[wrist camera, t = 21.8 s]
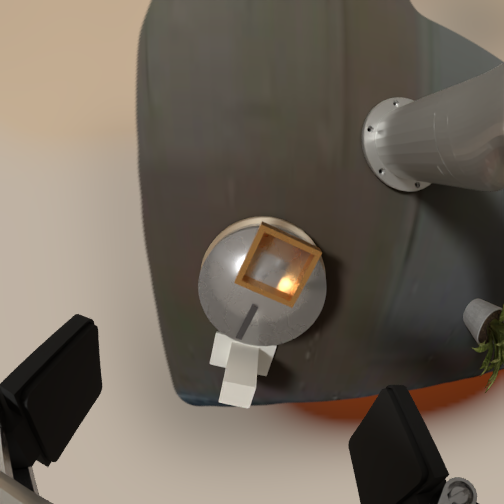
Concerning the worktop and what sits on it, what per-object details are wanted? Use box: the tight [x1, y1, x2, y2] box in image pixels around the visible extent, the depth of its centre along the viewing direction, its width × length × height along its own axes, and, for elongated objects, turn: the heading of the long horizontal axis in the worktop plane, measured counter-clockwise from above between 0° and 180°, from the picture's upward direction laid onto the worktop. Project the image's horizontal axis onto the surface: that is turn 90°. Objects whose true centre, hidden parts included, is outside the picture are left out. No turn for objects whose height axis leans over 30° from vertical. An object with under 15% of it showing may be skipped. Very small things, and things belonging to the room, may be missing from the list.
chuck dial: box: [198, 221, 327, 346], centre depth 35 cm, size 15×15×5 cm
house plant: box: [463, 298, 504, 393], centre depth 31 cm, size 14×14×16 cm
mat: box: [210, 331, 277, 376], centre depth 43 cm, size 9×6×1 cm, turn 77°
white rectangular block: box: [219, 342, 259, 408], centre depth 38 cm, size 4×4×9 cm
